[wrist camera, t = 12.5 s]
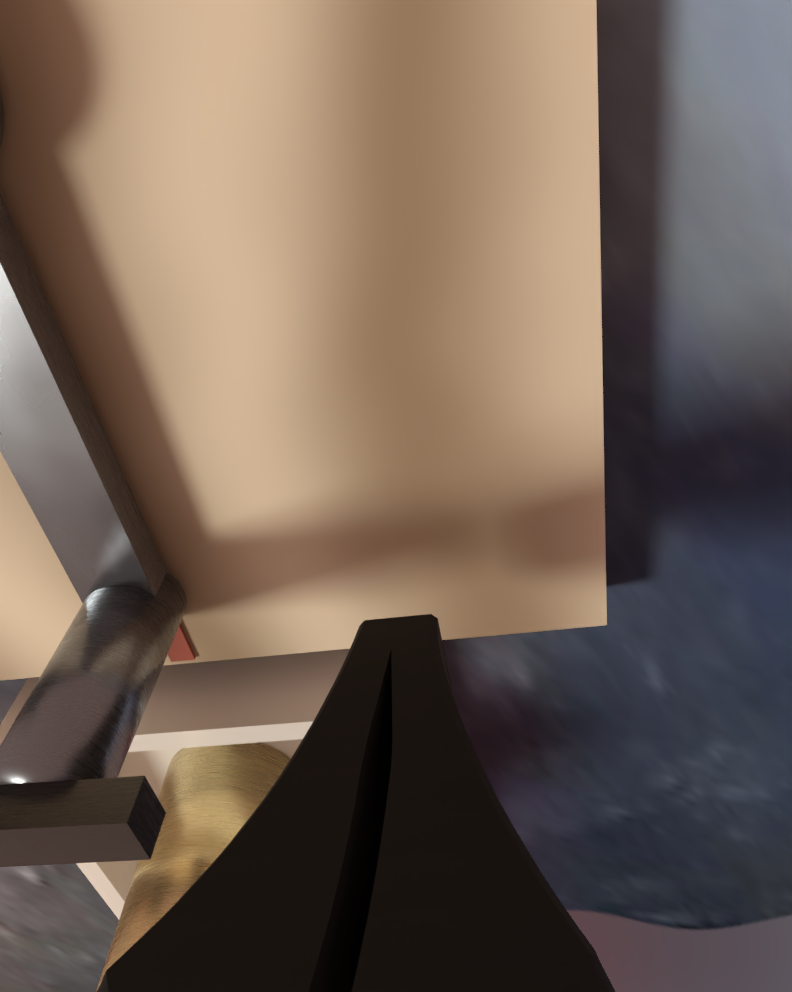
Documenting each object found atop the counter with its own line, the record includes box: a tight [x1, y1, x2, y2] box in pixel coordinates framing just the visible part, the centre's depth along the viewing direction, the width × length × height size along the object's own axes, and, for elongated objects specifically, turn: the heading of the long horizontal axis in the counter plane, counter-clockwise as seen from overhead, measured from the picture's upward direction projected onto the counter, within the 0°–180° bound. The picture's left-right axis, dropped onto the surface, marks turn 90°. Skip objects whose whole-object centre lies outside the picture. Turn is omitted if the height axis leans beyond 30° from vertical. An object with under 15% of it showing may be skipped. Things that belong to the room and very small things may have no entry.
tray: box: [0, 649, 350, 919], centre depth 21 cm, size 9×9×2 cm
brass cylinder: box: [96, 742, 291, 992], centre depth 18 cm, size 4×4×7 cm
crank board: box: [0, 0, 607, 680], centre depth 14 cm, size 18×16×1 cm
